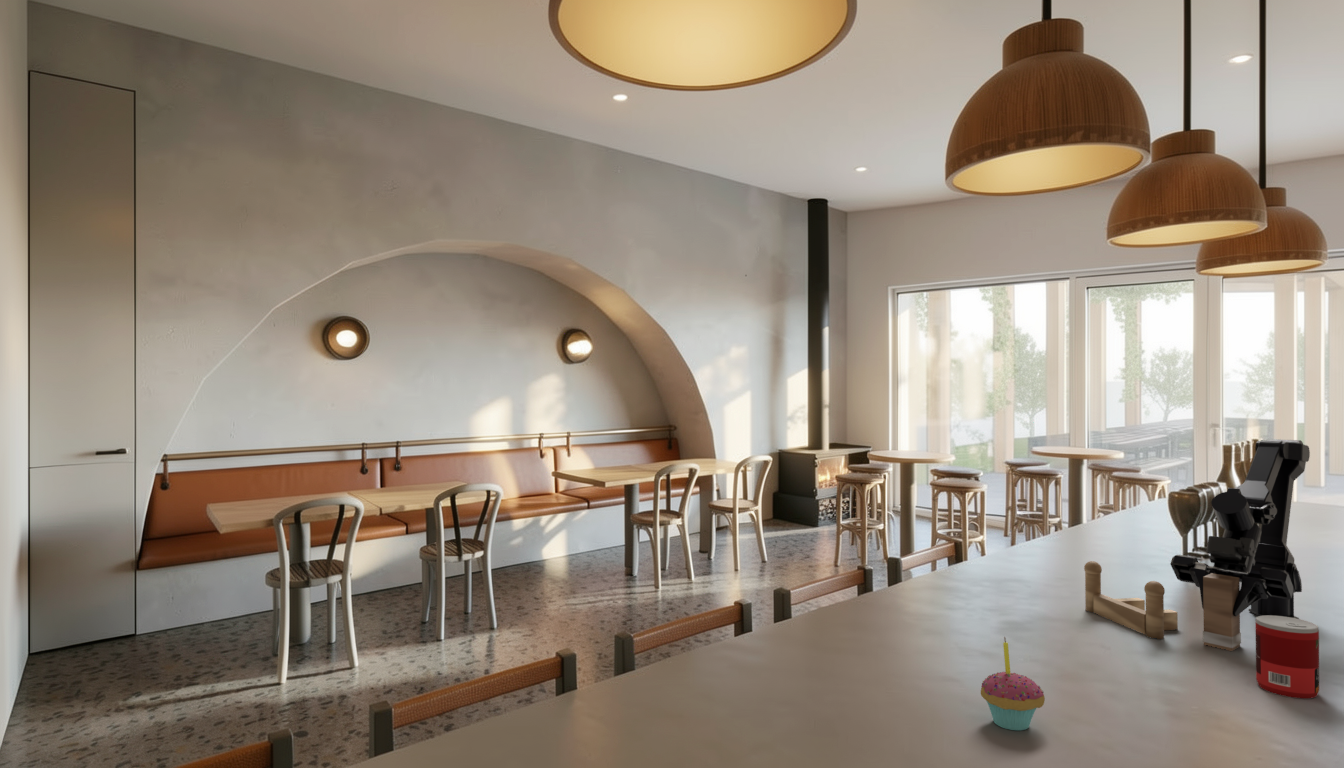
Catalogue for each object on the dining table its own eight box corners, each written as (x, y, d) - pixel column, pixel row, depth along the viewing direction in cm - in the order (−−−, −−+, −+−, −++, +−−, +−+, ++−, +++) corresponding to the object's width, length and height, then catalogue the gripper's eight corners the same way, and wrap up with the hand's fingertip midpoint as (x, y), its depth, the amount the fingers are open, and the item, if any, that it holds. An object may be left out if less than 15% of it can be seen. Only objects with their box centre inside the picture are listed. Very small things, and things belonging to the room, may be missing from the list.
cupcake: (970, 712, 115) (969, 632, 115) (1024, 710, 116) (1023, 631, 116) (999, 738, 107) (998, 652, 107) (1057, 736, 107) (1056, 650, 108)
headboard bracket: (1120, 607, 171) (1120, 558, 171) (1198, 637, 150) (1197, 582, 150) (1081, 608, 170) (1080, 559, 170) (1153, 639, 149) (1153, 583, 149)
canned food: (1330, 701, 119) (1330, 630, 119) (1272, 697, 121) (1271, 627, 121) (1301, 683, 127) (1300, 616, 127) (1246, 679, 128) (1245, 613, 128)
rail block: (1212, 640, 149) (1211, 573, 149) (1240, 646, 145) (1240, 577, 145) (1202, 644, 146) (1202, 576, 146) (1232, 651, 142) (1231, 581, 142)
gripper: (1173, 514, 155) (1151, 577, 149) (1288, 527, 141) (1269, 597, 134) (1188, 548, 160) (1168, 610, 153) (1301, 564, 145) (1283, 633, 139)
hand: (1218, 612), depth 145 cm, fingers closed on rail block, 4 cm apart
